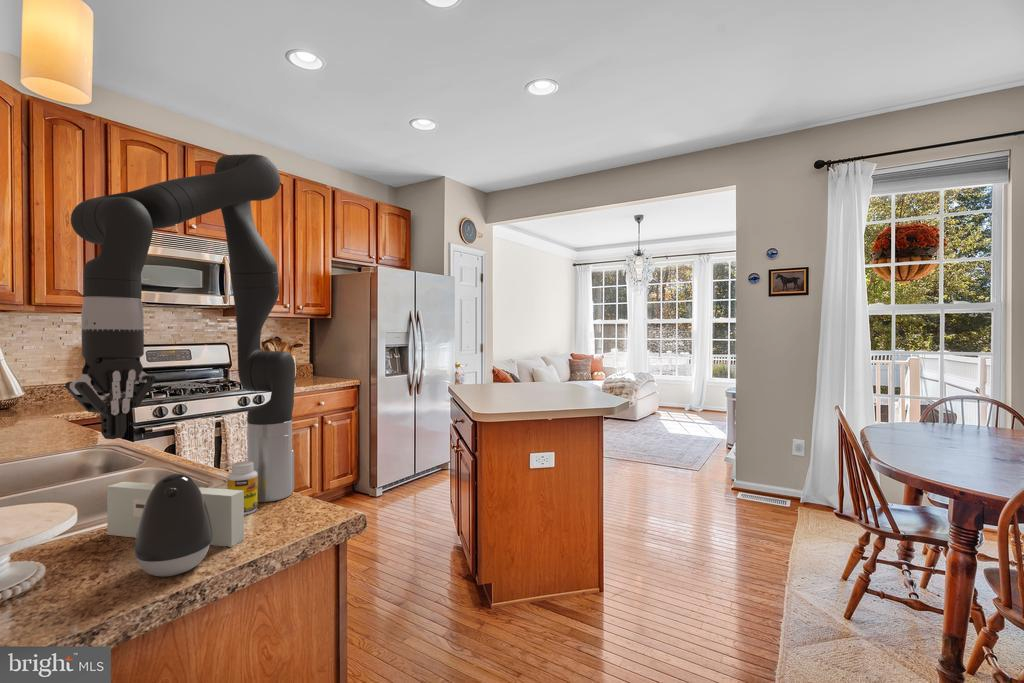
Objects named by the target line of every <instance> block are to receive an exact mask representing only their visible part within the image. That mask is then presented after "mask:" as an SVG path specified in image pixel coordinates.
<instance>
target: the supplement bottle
mask: <svg viewBox="0 0 1024 683" xmlns="http://www.w3.org/2000/svg"><path fill="white" fill-rule="evenodd" d="M253 468H254V467H253V462H251V461H247V460H245V461H238V462H234V463H232V464H231V472H230V473H229V474H228V475H227V478H226V480H227V481H226V484H227V485H226V487H227V488H226V489H229V490H242V491H244V516H248V515H251V514H253V513H254V512H256V511H257V509H258V502H257V484H258V474H257V472H256V471H254V470H253ZM247 514H248V515H247Z"/></svg>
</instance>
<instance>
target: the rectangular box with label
mask: <svg viewBox="0 0 1024 683" xmlns="http://www.w3.org/2000/svg"><path fill="white" fill-rule="evenodd" d="M155 484H156V483H147V482H135V481H120V482H117V483H114V484H110V485H107V486H106V491H107V492H106V493H107V494H106V497H107V499H106V500H107V502H106V508H107V510H106V511H107V515H106V516H107V520H106V521H107V524H106V525H107V527H106V528H107V531H106V532H107V535H108V536H115V537H117V536H118V537H126V538H127V537H128V538H135V539H136V534H137V529H138V525H139V521H140V518H141V515H142V512H143V508H144V506H145V503H146V500H147V498H148V496H149V494H150V492H151V490H152V489H153V487H154V486H155ZM198 487H199V489H200V491H201V493H202V495H203V498H204V501H205V504H206V507H207V510H208V513H209V517H210V522H211V527H212V542H211V543H210V545H209V546H219V547H226V546H228V548H232V546H233V547H234V546H236V545H237V543H238V544H239V543H241V542H243V541H244V540H245V515H244V491H242V490H229V489H227V488H226V489H225V488H214V487H200V486H198ZM242 540H243V541H242Z"/></svg>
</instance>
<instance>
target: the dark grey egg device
mask: <svg viewBox="0 0 1024 683" xmlns="http://www.w3.org/2000/svg"><path fill="white" fill-rule="evenodd" d="M154 484H155V486H154V487H153V489H152V490H151V492H150V494H149V496H148V498H147V500H146V503H145V506H144V508H143V512H142V515H141V518H140V521H139V525H138V529H137V534H136V538H135V542H134V549H133V552H134V554H133V555H134V557H135V559H137V563H138V565H139V566H140V568H141V569H142V570H143V571H144V572H146V573H147V574H148V575H151V576H155V577H172V576H177V575H181V574H184V573H185V572H188V571H190V570H192V569H194V568H195V567H196V566H197V565H199V564H200V563H201V562H202V561H203V559H205V557H206V556H207V553H208V551H209V549H210V546H211V545H210V543H211V542H212V527H211V522H210V517H209V513H208V510H207V507H206V504H205V501H204V498H203V495H202V493H201V491H200V489H199V487H200V486H198V484H197V483H196V481H195V480H194V479H193V478H192V477H190V476H189V475H187V474H184V473H179V472H177V473H171V474H170V473H169V474H167V475H165V476H163V477H161V478H160V479H159V480H158V481H157V482H156V483H154Z"/></svg>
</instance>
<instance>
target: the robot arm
mask: <svg viewBox="0 0 1024 683" xmlns="http://www.w3.org/2000/svg"><path fill="white" fill-rule="evenodd" d="M280 186H281V176H280V172H279V169H278V167H277V165H276V164H275V163H274V161H272V160H271V159H270V158H269V157H267V156H265V155H261V154H255V153H250V154H247V153H246V154H244V153H243V154H228V155H227V154H226V155H222V156H220V157H219V158H218V160H217V161H216V163H215V165H214V173H208V174H199V175H193V176H187V177H186V176H185V177H177V178H173V179H169V180H164V181H162V182H157V183H153V184H150V185H147V186H144V187H141V188H139V189H135V190H130V191H126V192H125V191H123V192H118V193H113V194H107V195H102V196H98V197H97V196H96V197H93V198H88V199H85V200H83V201H80V203H78V204H77V205H76V206H75V207H74V209H73V210H72V212H71V215H70V223H71V227H72V229H73V231H74V232H75V233H76V234H77V236H79V237H80V238H81V239H82V240H84V241H87V242H88V243H91V244H95V245H101V249H100V252H99V255H97V257H95V258H92V259H91V260H88V261H87V262H86V263H85V264H84V267H83V273H82V274H83V280H82V281H83V289H82V290H83V300H82V307H81V314H80V316H81V322H80V324H81V356H82V357H83V359H84V365H83V367H82V369H81V375H80V376H79V377H77V379H75V380H74V381H67V382H66V383H65V385H64V387H65V389H66V390H67V392H69V393H70V394H71V396H73V398H74V399H75V400H76V401H77V402H78V403H79V404H80V405H81V406H82V407H83V408H84V409H85V410H86V412H88V413H94V414H97V415H99V416H100V417H101V418H100V423H101V424H100V426H101V428H100V431H101V432H100V433H101V435H102V436H103V438H104V439H106V440H117V439H121V438H124V437H125V434H126V432H127V414H128V413H129V412H130V410H132V409H133V408H135V409H136V408H139V407H140V405H141V403H142V402H143V400H144V399H145V397H146V396H147V394H148V392H149V391H150V390H151V388H152V387H153V385H154V383H155V382H156V379H157V378H156V376H155V375H149V374H148V373H146V372H145V371H143V369H144V367H143V364H142V362H141V357H143V356H144V353H145V346H144V344H145V343H144V342H145V341H144V339H145V335H144V334H145V333H144V331H145V330H144V329H145V326H144V324H145V322H144V321H145V319H144V318H145V317H144V315H145V314H144V309H143V308H144V307H143V303H142V272H143V269H144V267H145V263H146V261H147V258H148V253H149V250H150V247H151V243H152V238H153V233H154V230H160V229H165V228H169V227H173V226H176V225H178V224H182V223H185V222H187V221H189V220H192V219H195V218H197V217H200V216H203V215H206V214H208V213H211V212H214V211H217V210H220V211H221V214H222V220H223V224H224V230H225V238H226V243H227V244H226V245H227V251H228V258H229V259H228V260H229V272H230V281H231V288H232V294H233V295H232V296H233V302H234V310H235V311H234V312H235V318H236V319H235V321H236V334H237V335H236V337H237V338H236V340H237V342H236V344H237V345H236V346H237V348H236V349H237V350H236V351H237V371H238V372H237V374H238V379H239V384H241V386H242V387H243V389H244V390H246V391H248V392H249V391H250V392H271V393H270V398H269V400H268V401H266V402H265V403H264V404H261V405H258V406H255V407H252V408H250V409H249V410H247V413H246V414H247V415H246V420H247V421H246V422H247V423H246V426H247V427H246V428H247V429H246V430H247V432H246V433H247V438H246V441H247V442H246V446H247V448H246V449H247V450H246V451H247V452H246V453H247V455H246V458H247V460H246V461H251V462H253V467H254V468H253V470H254V471H256V472H257V474H258V484H257V503H265V502H266V503H267V502H275V501H279V500H284V499H285V498H288V497H289V496H291V495H292V493H293V491H294V490H295V451H294V449H293V410H294V402H295V383H296V382H295V381H296V363H295V360H294V357H293V355H292V354H291V353H290V352H288V351H284V350H283V351H281V350H276V351H275V350H262V346H261V334H262V329H263V327H264V326H265V322H266V321H267V319H268V317H269V315H270V314H271V312H272V310H273V309H274V307H275V305H276V303H277V301H278V299H279V296H280V283H279V281H280V280H279V271H278V265H277V261H276V259H275V256H274V255H273V252H272V251H271V249H270V248H269V247H268V245H267V243H266V242H265V241H264V239H263V238H262V236H261V235H260V233H259V231H258V230H257V227H256V225H255V222H254V219H253V218H254V217H253V214H252V206H251V205H252V203H251V202H252V201H253V202H255V201H256V202H257V201H258V202H260V201H261V202H262V201H266V200H270V199H272V198H273V197H275V196H276V195H277V193H278V192H279V190H280ZM290 492H292V493H290Z"/></svg>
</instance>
